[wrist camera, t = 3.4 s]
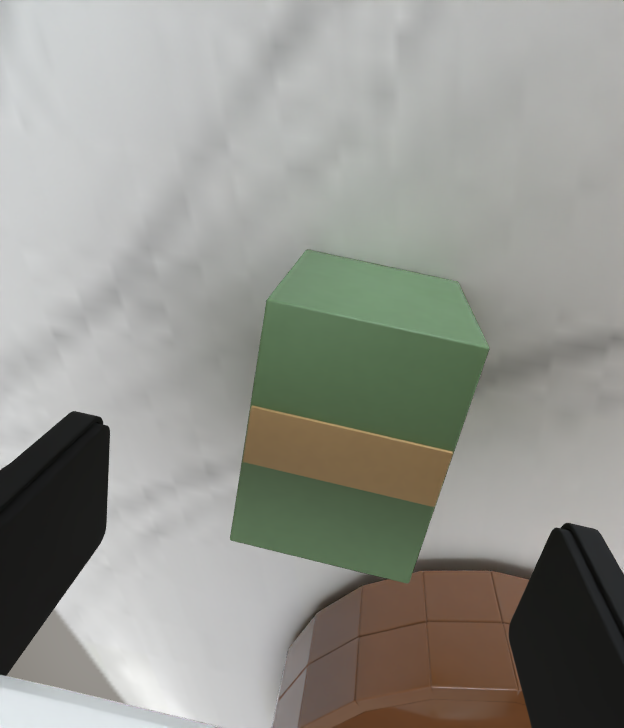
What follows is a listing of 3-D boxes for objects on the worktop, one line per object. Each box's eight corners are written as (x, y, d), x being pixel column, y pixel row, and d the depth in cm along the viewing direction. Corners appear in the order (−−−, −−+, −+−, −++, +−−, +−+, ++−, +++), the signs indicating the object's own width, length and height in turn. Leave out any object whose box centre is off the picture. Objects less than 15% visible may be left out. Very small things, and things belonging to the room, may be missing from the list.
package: (458, 281, 17) (491, 349, 11) (404, 462, 20) (408, 587, 14) (306, 249, 17) (265, 300, 12) (273, 431, 20) (228, 543, 14)
